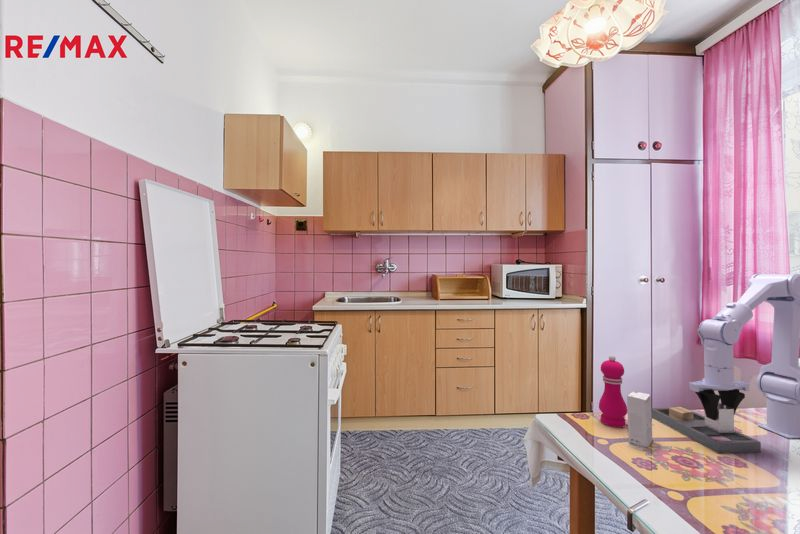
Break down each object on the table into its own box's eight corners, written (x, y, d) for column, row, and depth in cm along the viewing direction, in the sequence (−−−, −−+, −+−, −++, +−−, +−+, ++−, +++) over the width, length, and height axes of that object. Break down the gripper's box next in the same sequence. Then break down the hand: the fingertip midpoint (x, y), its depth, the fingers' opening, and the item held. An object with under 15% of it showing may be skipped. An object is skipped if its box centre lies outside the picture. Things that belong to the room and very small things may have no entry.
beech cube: (679, 420, 105) (679, 406, 105) (693, 425, 101) (693, 411, 101) (669, 421, 104) (668, 407, 104) (682, 427, 100) (682, 413, 100)
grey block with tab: (719, 425, 93) (718, 400, 93) (734, 432, 89) (733, 405, 89) (704, 425, 93) (704, 400, 93) (719, 432, 89) (718, 406, 89)
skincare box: (647, 448, 88) (647, 400, 88) (627, 442, 91) (626, 395, 92) (653, 440, 92) (652, 394, 93) (633, 434, 96) (632, 390, 96)
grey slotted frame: (684, 415, 108) (684, 407, 108) (760, 452, 86) (760, 442, 86) (650, 416, 108) (650, 408, 108) (718, 453, 86) (717, 443, 86)
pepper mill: (632, 429, 99) (631, 358, 99) (604, 427, 100) (603, 357, 100) (621, 419, 106) (620, 353, 106) (595, 417, 107) (594, 352, 108)
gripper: (730, 361, 95) (731, 411, 95) (679, 362, 95) (679, 412, 95) (757, 368, 88) (758, 422, 88) (702, 369, 88) (703, 423, 88)
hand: (719, 418), depth 91 cm, fingers closed on grey block with tab, 4 cm apart
